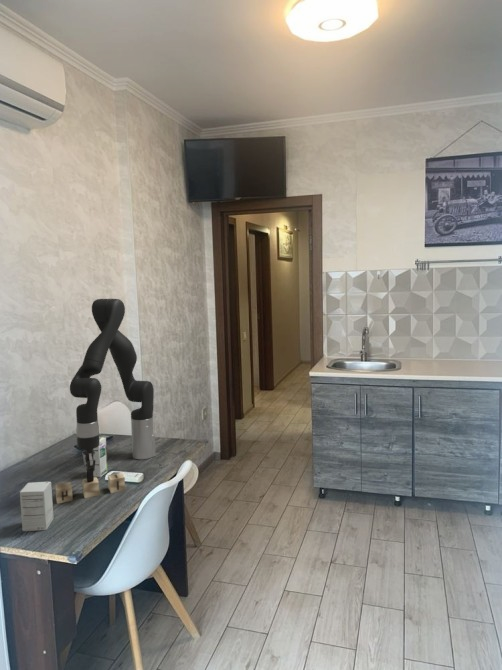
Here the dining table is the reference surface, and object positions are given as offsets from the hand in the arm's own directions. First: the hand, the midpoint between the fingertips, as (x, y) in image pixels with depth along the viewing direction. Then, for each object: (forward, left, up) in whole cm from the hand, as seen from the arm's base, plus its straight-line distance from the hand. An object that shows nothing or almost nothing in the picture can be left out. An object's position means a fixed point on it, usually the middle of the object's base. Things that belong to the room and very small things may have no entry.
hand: (90, 480), depth 173 cm
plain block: (0, 0, -5) cm, 5 cm away
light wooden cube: (+9, 0, -5) cm, 10 cm away
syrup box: (-5, -18, -5) cm, 19 cm away
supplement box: (+18, +16, -5) cm, 25 cm away
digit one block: (-9, 0, -5) cm, 10 cm away
